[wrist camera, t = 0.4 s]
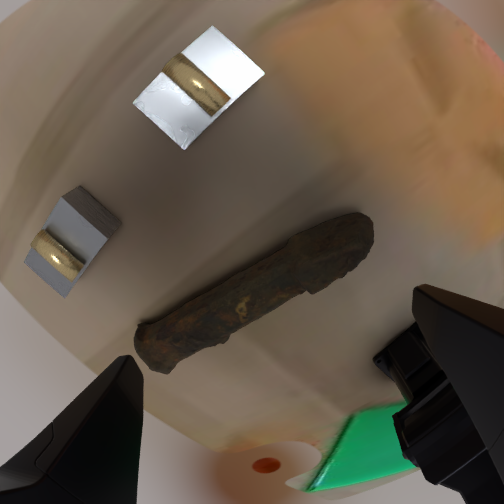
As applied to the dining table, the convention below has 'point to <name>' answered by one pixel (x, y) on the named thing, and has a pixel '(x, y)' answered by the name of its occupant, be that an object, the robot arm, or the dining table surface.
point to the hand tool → (257, 291)
